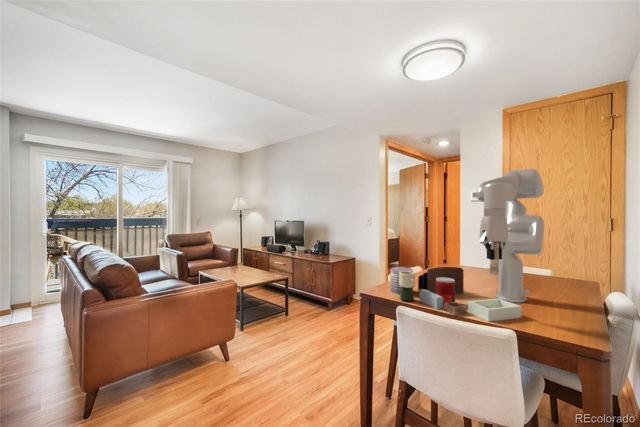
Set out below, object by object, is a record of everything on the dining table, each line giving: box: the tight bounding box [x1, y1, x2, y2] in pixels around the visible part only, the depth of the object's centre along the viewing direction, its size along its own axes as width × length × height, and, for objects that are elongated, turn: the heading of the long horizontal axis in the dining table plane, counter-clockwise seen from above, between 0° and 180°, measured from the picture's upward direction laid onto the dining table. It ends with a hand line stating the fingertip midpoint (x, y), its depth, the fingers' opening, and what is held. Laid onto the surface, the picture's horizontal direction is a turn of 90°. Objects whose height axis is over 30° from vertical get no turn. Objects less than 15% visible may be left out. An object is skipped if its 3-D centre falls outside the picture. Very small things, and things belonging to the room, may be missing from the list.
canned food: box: [436, 277, 456, 306], centre depth 125 cm, size 8×8×11 cm
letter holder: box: [417, 266, 465, 295], centre depth 142 cm, size 10×20×14 cm, turn 99°
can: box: [390, 266, 414, 295], centre depth 143 cm, size 11×11×12 cm
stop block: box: [419, 290, 444, 310], centre depth 123 cm, size 3×12×5 cm, turn 14°
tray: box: [467, 298, 522, 322], centre depth 111 cm, size 16×10×4 cm, turn 105°
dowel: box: [489, 242, 499, 276], centre depth 110 cm, size 3×3×13 cm
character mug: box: [399, 271, 416, 302], centre depth 129 cm, size 11×7×13 cm, turn 12°
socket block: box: [443, 301, 468, 316], centre depth 114 cm, size 6×6×3 cm
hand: (494, 258), depth 110 cm, fingers closed on dowel, 3 cm apart
